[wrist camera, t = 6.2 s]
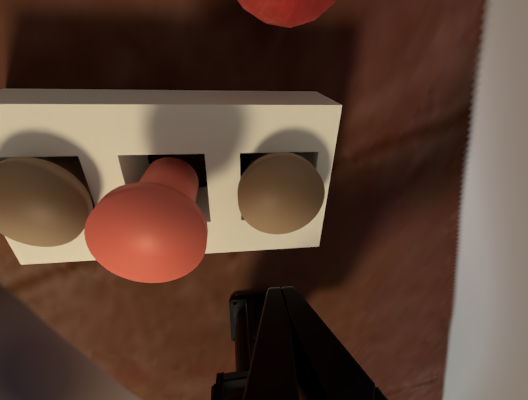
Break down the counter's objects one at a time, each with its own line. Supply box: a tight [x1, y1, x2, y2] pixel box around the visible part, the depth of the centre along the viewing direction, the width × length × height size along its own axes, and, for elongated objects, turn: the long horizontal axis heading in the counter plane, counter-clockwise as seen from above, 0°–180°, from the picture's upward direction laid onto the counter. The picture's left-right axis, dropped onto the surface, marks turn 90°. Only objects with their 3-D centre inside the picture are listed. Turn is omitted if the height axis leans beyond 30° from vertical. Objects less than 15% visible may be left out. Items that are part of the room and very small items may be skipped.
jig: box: [0, 88, 342, 265], centre depth 16 cm, size 9×18×4 cm, turn 89°
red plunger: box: [84, 157, 208, 283], centre depth 13 cm, size 5×5×6 cm
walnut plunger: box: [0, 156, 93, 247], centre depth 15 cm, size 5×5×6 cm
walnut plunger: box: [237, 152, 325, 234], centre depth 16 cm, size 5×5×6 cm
